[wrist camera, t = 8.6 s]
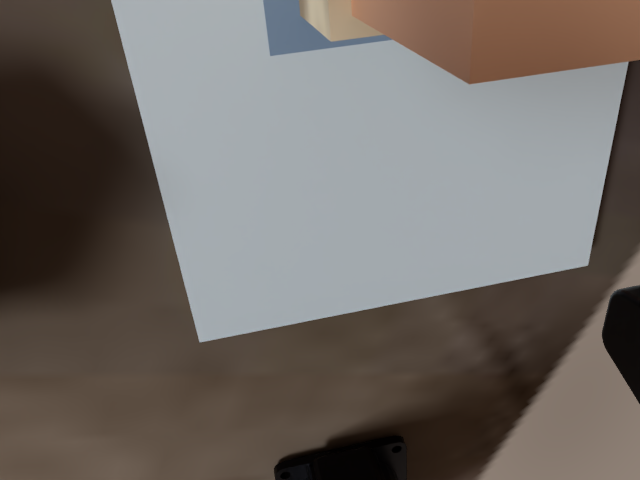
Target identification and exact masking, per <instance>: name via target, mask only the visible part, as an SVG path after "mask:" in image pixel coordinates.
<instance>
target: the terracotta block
mask: <svg viewBox="0 0 640 480" xmlns="http://www.w3.org/2000/svg"><path fill="white" fill-rule="evenodd" d="M351 7H352V16H353V17H355V18H357V19H358V20H360V21H362V22H363V23H365V24H367V25H369V26H370V27H372V28H374V29H375V30H377V31H379V32H381V33H382V34H384V35H386V36H387V37H389V38H391V39H392V40H394V41H396V42H398V43H399V44H401V45H403V46H404V47H406V48H408V49H410V50H411V51H413V52H415V53H416V54H418V55H420V56H422V57H423V58H425V59H427V60H428V61H430V62H432V63H434V64H435V65H437V66H439V67H440V68H442V69H444V70H445V71H447V72H449V73H451V74H452V75H454V76H456V77H457V78H459V79H461V80H463V81H464V82H466V83H468V84H476V83H483V82H490V81H497V80H504V79H511V78H518V77H525V76H531V75H538V74H545V73H552V72H559V71H566V70H573V69H580V68H587V67H594V66H601V65H608V64H614V63H621V62H628V61H635V60H640V0H351Z"/></svg>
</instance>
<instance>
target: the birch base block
mask: <svg viewBox="0 0 640 480" xmlns="http://www.w3.org/2000/svg"><path fill="white" fill-rule="evenodd" d="M299 7H300V16H301V17H303V18H304V19H305V20H306V21H307V22H308V23H310V24H311V25H312V26H313V27H314V28H315V29H317V30H318V31H319V32H320V33H321V34H322V35H324V36H325V37H326V38H327V39H328V40H330V41H331V42H333V41H340V40H348V39H356V38H363V37H371V36H378V35H384V34H382V33H381V32H379V31H377V30H375V29H374V28H372V27H370V26H369V25H367V24H365V23H363V22H362V21H360V20H358V19H357V18H355V17H353V16H352V7H351V0H299Z"/></svg>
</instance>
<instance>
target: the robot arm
mask: <svg viewBox="0 0 640 480" xmlns="http://www.w3.org/2000/svg"><path fill="white" fill-rule="evenodd" d="M602 338H603V343H604V346H605V348H606V350H607V352H608V353H609V355H610V356H611V358H612V360H613V361H614V363H615V364H616V366H617V368H618V369H619V371H620V373H621V374H622V376H623V378H624V379H625V381H626V382H627V384H628V386H629V387H630V389H631V391H632V392H633V394H634V395H635V397H636V399H637V400H638V402H639V404H640V286H633V287H628V288H623V289H619V290H616V291H614V293H613V294H612V295H611V297H610V300H609V305H608V309H607V313H606V317H605V322H604V326H603V330H602ZM274 474H275V480H407V456H406V444H405V442H404V439H403V438H402V437H401V436H392V437H388V438H383V439H379V440H375V441H370V442H366V443H362V444H357V445H353V446H349V447H344V448H340V449H336V450H331V451H327V452H323V453H318V454H314V455H310V456H305V457H301V458H297V459H292V460H288V461H284V462H281V463H279V464H277V465H276V466H275V468H274Z"/></svg>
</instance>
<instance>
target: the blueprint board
mask: <svg viewBox="0 0 640 480" xmlns="http://www.w3.org/2000/svg"><path fill="white" fill-rule="evenodd" d="M111 1H112V5H113V9H114V13H115V17H116V21H117V24H118V28H119V32H120V36H121V40H122V44H123V48H124V52H125V55H126V59H127V63H128V67H129V71H130V75H131V79H132V83H133V86H134V90H135V94H136V98H137V102H138V106H139V110H140V113H141V117H142V121H143V125H144V129H145V133H146V137H147V141H148V144H149V148H150V152H151V156H152V160H153V164H154V168H155V172H156V175H157V179H158V183H159V187H160V191H161V195H162V199H163V202H164V206H165V210H166V214H167V218H168V222H169V226H170V230H171V233H172V237H173V241H174V245H175V249H176V253H177V257H178V261H179V264H180V268H181V272H182V276H183V280H184V284H185V288H186V291H187V295H188V299H189V303H190V307H191V311H192V315H193V319H194V322H195V326H196V330H197V334H198V338H199V342H205V341H210V340H215V339H220V338H225V337H230V336H235V335H240V334H245V333H250V332H255V331H260V330H265V329H270V328H275V327H280V326H285V325H290V324H295V323H300V322H305V321H310V320H315V319H321V318H326V317H331V316H336V315H341V314H346V313H351V312H356V311H361V310H366V309H371V308H376V307H381V306H386V305H391V304H396V303H401V302H406V301H411V300H416V299H421V298H426V297H431V296H437V295H442V294H447V293H452V292H457V291H462V290H467V289H472V288H477V287H482V286H487V285H492V284H497V283H502V282H507V281H512V280H517V279H522V278H527V277H532V276H537V275H542V274H548V273H553V272H558V271H563V270H568V269H573V268H578V267H583V266H588V262H589V257H590V252H591V247H592V242H593V237H594V232H595V227H596V222H597V217H598V212H599V207H600V202H601V197H602V192H603V187H604V182H605V177H606V172H607V167H608V162H609V157H610V152H611V147H612V142H613V137H614V132H615V127H616V122H617V117H618V112H619V107H620V102H621V97H622V92H623V87H624V82H625V77H626V72H627V67H628V62H629V61H628V62H621V63H614V64H608V65H601V66H594V67H587V68H580V69H573V70H566V71H559V72H552V73H545V74H538V75H531V76H525V77H518V78H511V79H504V80H497V81H490V82H483V83H476V84H468V83H466V82H464V81H463V80H461V79H459V78H457V77H456V76H454V75H452V74H451V73H449V72H447V71H445V70H444V69H442V68H440V67H439V66H437V65H435V64H434V63H432V62H430V61H428V60H427V59H425V58H423V57H422V56H420V55H418V54H416V53H415V52H413V51H411V50H410V49H408V48H406V47H404V46H403V45H401V44H399V43H398V42H396V41H394V40H392V39H391V38H389V37H387V36H386V35H378V36H371V37H363V38H356V39H348V40H340V41H333V42H331V41H330V40H328V39H327V38H326V37H325V36H324V35H322V34H321V33H320V32H319V31H318V30H317V29H315V28H314V27H313V26H312V25H311V24H310V23H308V22H307V21H306V20H305V19H304V18H303V17H301V16H300V7H299V0H111Z"/></svg>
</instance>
